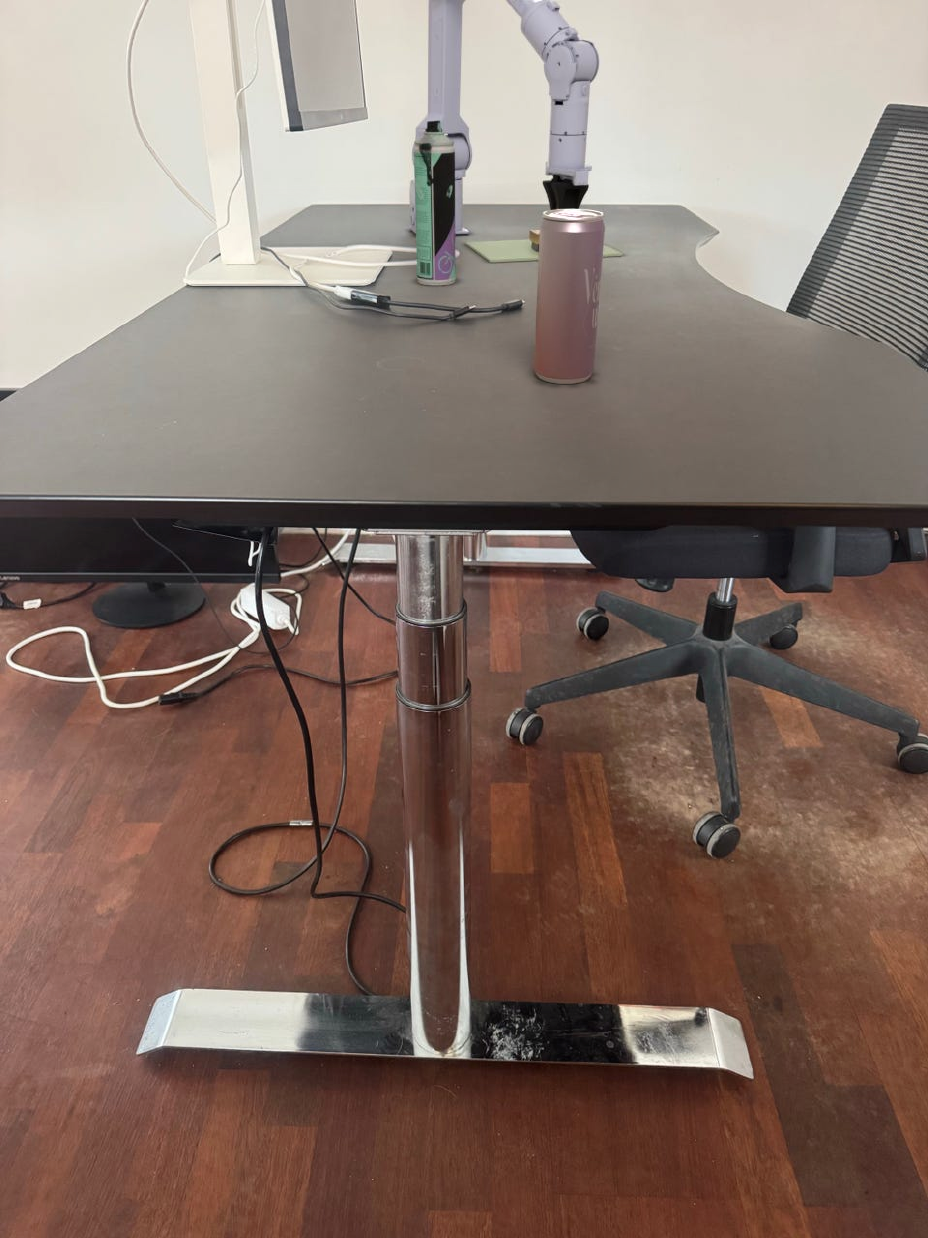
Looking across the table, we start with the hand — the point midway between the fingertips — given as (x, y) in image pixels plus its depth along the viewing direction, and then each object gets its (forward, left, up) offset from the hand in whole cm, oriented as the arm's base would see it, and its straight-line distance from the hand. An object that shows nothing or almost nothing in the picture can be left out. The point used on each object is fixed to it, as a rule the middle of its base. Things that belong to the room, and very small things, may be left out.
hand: (562, 229), depth 142 cm
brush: (0, 0, -3) cm, 3 cm away
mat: (-3, +2, -3) cm, 5 cm away
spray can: (-25, -17, -3) cm, 30 cm away
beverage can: (-22, -63, -3) cm, 67 cm away
